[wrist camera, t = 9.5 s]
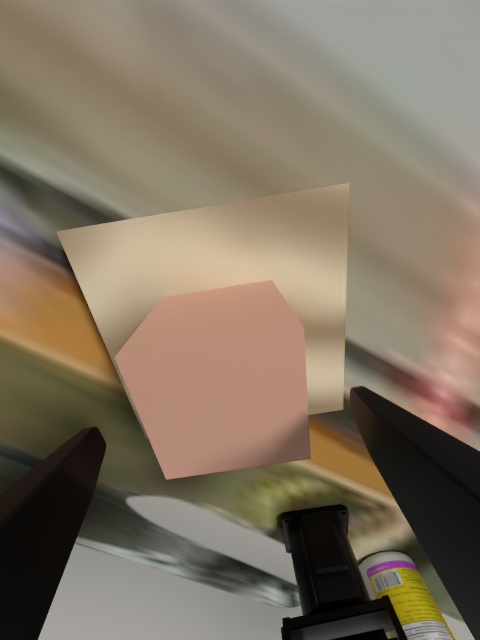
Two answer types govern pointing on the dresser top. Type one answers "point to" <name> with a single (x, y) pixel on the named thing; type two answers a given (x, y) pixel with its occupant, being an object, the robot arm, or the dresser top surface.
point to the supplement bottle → (405, 595)
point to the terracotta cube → (220, 380)
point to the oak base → (226, 270)
